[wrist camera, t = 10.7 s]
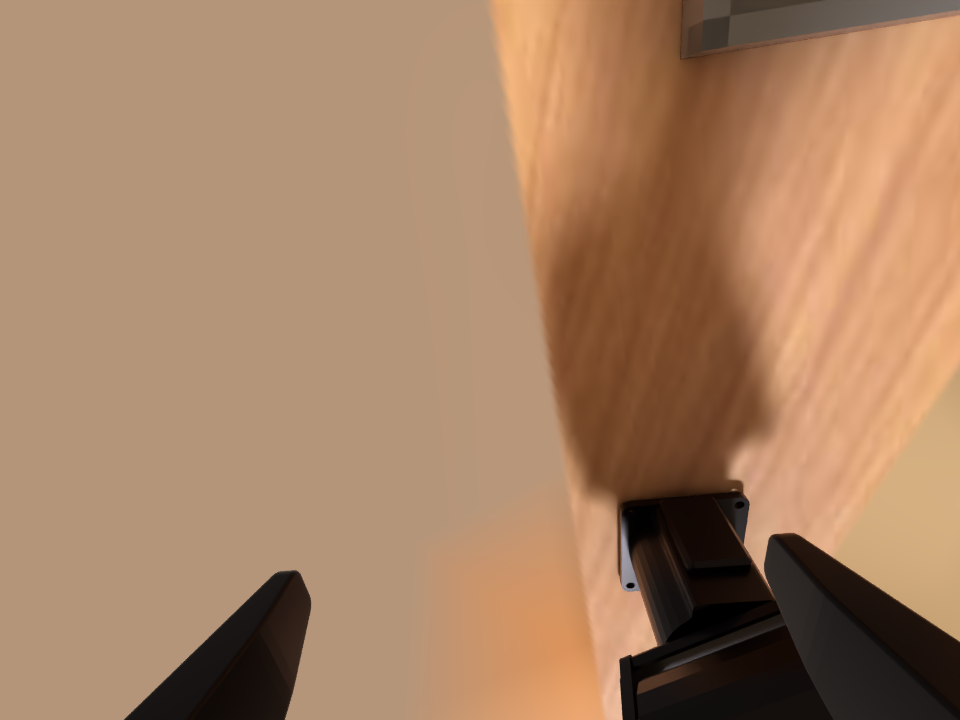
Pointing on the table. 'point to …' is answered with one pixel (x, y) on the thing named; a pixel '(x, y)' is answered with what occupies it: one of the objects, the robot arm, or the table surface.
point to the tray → (793, 20)
